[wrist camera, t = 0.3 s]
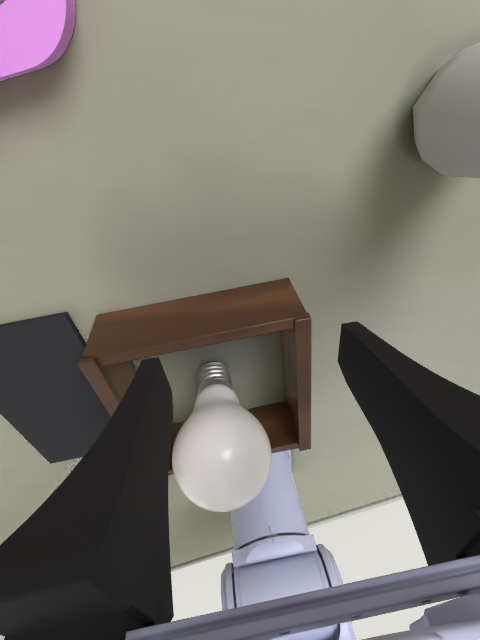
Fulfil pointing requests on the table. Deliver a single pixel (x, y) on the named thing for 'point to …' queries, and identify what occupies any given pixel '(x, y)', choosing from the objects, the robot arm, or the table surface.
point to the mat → (49, 387)
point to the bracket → (33, 34)
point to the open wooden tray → (205, 329)
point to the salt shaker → (451, 117)
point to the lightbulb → (220, 446)
